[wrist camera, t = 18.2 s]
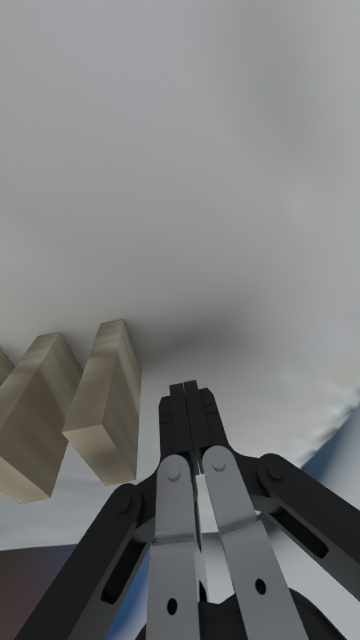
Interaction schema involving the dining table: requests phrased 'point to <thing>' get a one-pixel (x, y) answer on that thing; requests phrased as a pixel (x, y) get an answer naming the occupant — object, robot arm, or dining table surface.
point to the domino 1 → (5, 367)
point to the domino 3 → (108, 407)
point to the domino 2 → (36, 418)
